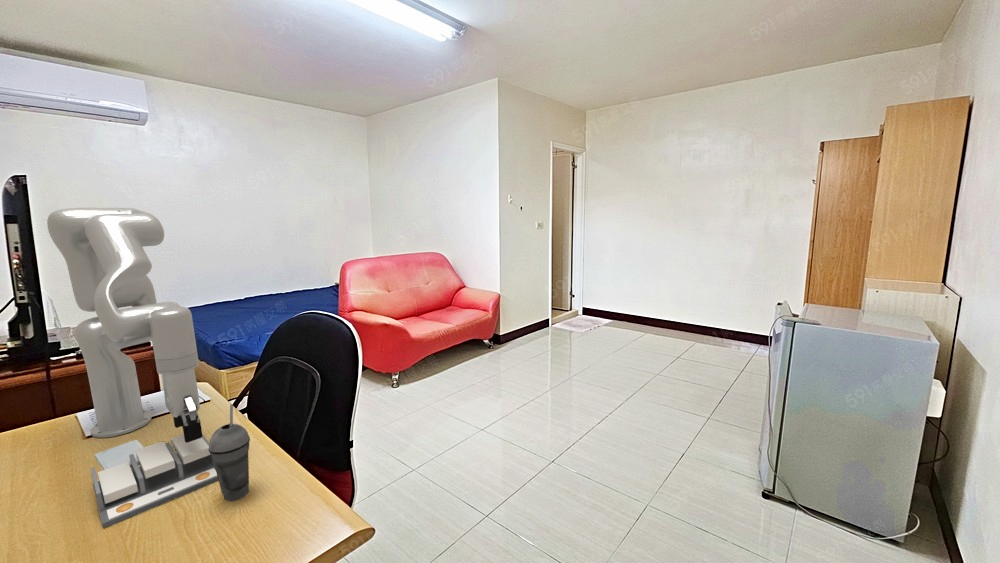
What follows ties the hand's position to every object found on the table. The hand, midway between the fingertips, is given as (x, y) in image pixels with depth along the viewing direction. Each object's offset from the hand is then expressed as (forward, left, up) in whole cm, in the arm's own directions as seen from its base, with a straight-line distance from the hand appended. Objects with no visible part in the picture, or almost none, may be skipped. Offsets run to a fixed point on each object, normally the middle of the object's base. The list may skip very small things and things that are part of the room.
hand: (188, 432), depth 97 cm
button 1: (0, -13, -7) cm, 15 cm away
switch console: (+2, -7, -9) cm, 11 cm away
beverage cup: (+19, +3, -9) cm, 21 cm away
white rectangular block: (0, -7, -5) cm, 8 cm away
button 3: (0, 0, -5) cm, 5 cm away
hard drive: (-16, -11, -9) cm, 22 cm away
